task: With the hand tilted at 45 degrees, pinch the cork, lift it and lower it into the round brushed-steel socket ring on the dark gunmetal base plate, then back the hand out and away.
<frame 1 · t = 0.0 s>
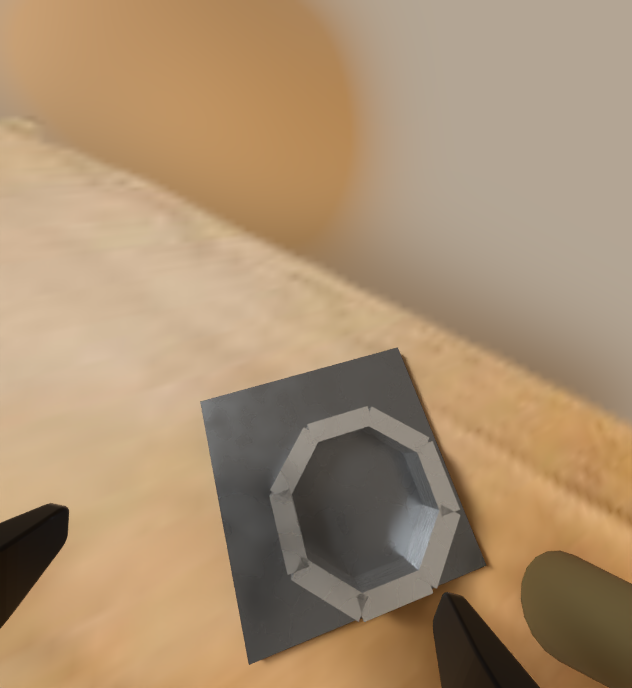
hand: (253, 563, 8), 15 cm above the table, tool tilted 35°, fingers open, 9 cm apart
socket block: (354, 496, 22), on the table
cork: (564, 604, 21), on the table
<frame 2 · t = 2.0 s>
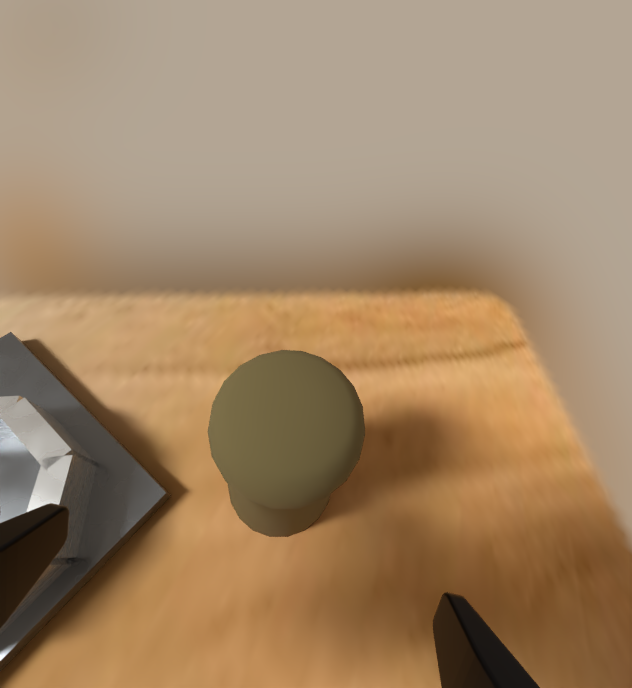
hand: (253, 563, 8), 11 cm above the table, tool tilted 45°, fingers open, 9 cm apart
cork: (281, 477, 19), on the table
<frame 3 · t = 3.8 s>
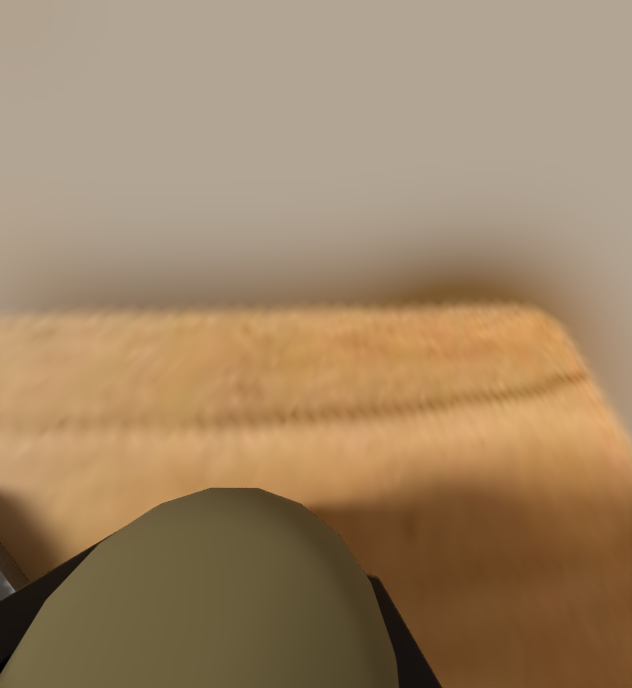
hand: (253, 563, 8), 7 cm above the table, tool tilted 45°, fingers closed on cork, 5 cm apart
cork: (251, 599, 12), on the table, touching gripper
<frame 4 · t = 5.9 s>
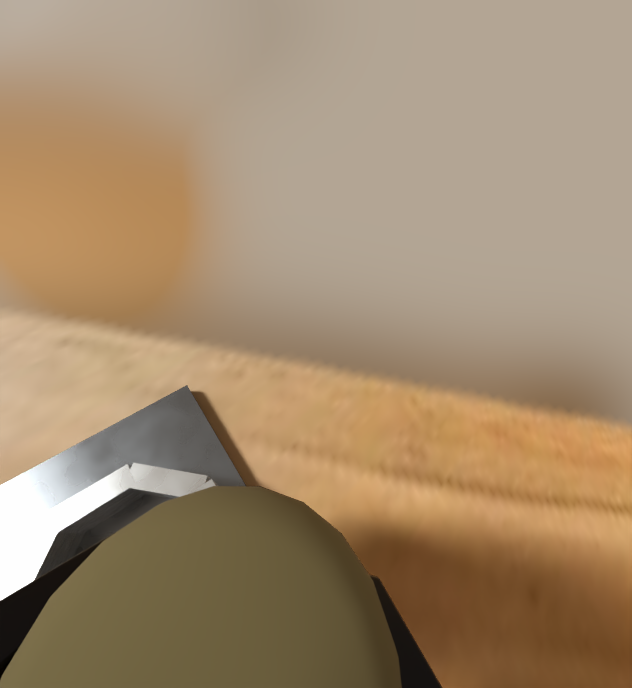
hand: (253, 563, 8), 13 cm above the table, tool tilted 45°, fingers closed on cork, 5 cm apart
socket block: (150, 581, 17), on the table
cork: (252, 597, 12), point 6 cm above the table, touching gripper
when the fingers open (9 cm above the table, at t = 7.8 s): cork drops 1 cm, resting on socket block.
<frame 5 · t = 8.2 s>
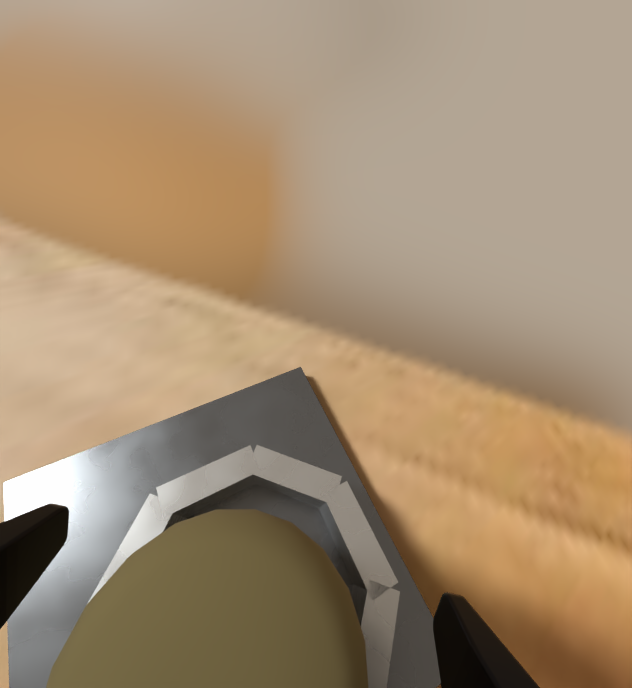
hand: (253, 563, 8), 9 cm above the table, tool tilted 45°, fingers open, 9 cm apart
socket block: (254, 592, 14), on the table
cork: (251, 600, 14), point 1 cm above the table, touching socket block
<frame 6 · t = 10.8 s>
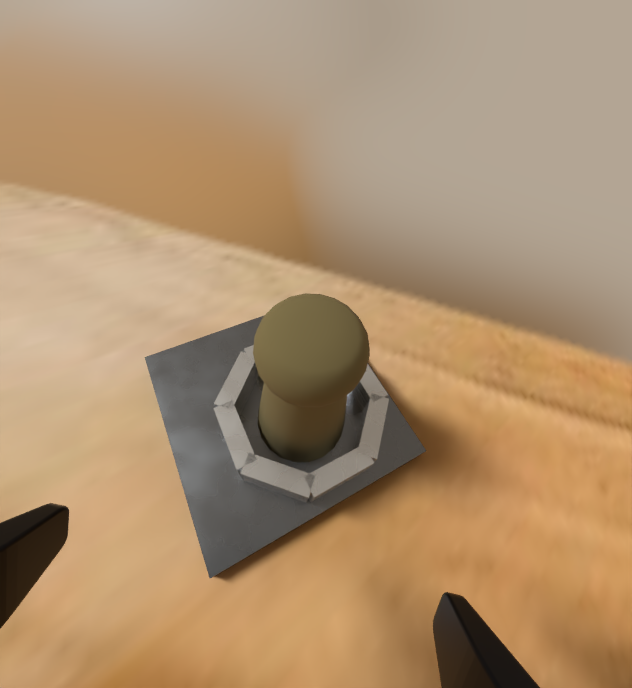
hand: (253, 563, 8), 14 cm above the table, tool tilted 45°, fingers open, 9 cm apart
socket block: (301, 419, 23), on the table
cork: (301, 418, 23), point 1 cm above the table, touching socket block
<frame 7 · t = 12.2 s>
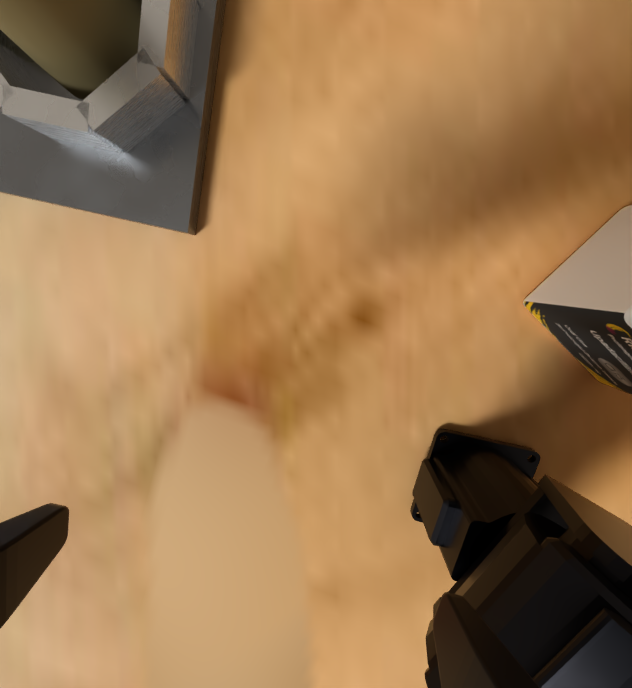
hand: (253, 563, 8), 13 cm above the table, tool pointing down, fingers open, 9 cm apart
medicine bottle: (606, 298, 19), on the table
socket block: (106, 46, 17), on the table
cork: (98, 38, 16), point 1 cm above the table, touching socket block
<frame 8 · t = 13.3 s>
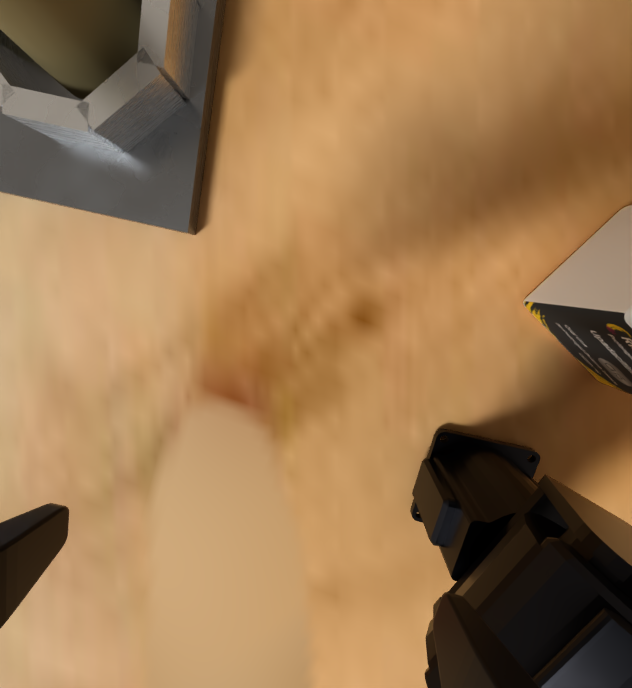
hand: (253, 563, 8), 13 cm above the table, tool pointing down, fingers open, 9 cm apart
medicine bottle: (606, 298, 19), on the table
socket block: (106, 46, 17), on the table
cork: (98, 38, 16), point 1 cm above the table, touching socket block
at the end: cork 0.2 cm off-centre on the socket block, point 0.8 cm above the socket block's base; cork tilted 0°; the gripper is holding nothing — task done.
